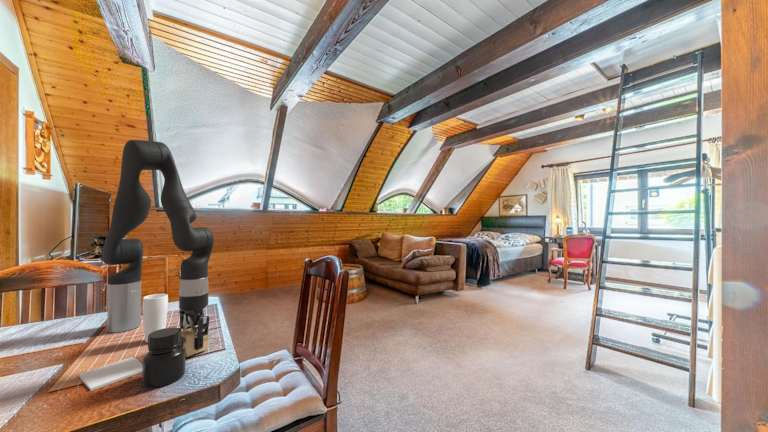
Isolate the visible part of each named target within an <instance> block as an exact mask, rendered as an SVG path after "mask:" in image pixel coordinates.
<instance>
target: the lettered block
mask: <svg viewBox="0 0 768 432" xmlns="http://www.w3.org/2000/svg"><path fill="white" fill-rule="evenodd" d="M195 327H198V325H197V326H195ZM204 331H205V329H204ZM197 332H198V329H197ZM194 338H195V337H194V332H193V331H191V328H189V329H186V330H183V329H181V343H180V345H181V346H183V347H184V348H185V351H186V357H190V356H193V355H195V354H198V353H201V352H204V351H206V350H209V349H210V347H209V345H210V342H209V341H210V339H209V338H210V329H209V328H208V335H205V336H203V348H201V349H199V350H195V349H194Z"/></svg>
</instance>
